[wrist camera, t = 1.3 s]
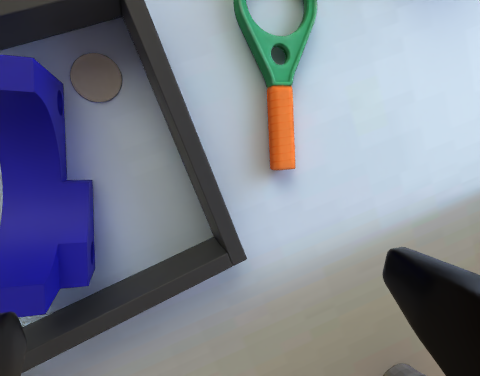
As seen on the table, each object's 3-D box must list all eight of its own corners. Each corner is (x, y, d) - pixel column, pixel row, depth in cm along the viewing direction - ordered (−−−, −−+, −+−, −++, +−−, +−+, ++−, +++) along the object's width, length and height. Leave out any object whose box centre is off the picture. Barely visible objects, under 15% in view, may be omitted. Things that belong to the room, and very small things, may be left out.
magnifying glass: (230, -49, 22) (237, -65, 20) (308, -38, 24) (320, -52, 22) (240, 171, 24) (247, 172, 22) (311, 166, 26) (323, 167, 24)
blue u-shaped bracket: (95, 268, 22) (79, 310, 16) (17, 274, 20) (-30, 322, 15) (89, 86, 20) (70, 61, 15) (6, 79, 19) (-51, 49, 13)
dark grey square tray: (-25, 366, 20) (-63, 416, 16) (-212, 86, 16) (-319, 67, 12) (230, 242, 24) (247, 259, 21) (131, -3, 20) (129, -38, 17)
